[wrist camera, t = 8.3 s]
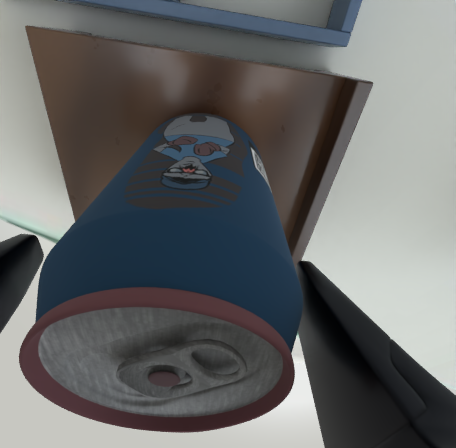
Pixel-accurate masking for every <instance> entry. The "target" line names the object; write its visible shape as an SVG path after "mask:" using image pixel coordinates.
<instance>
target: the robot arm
mask: <svg viewBox="0 0 456 448" xmlns="http://www.w3.org/2000/svg"><path fill="white" fill-rule="evenodd" d="M43 257H44V254H43V251H42V248H41V245H40V243H39V240H38V238H37V237H36V236H35V235H28V234H20V235H17V236H15V237H12V238H10V239H7V240H5V241H2V242H0V333H1V332H2V330H3V329H4V327H5V326H6V324H7V322H8V321H9V319H10V318H11V316H12V315H13V313H14V312H15V310H16V309H17V307H18V306H19V304H20V303H21V301H22V299H23V297H24V296H25V294H26V292H27V290H28V288H29V286H30V284H31V282H32V280H33V278H34V276H35V274H36V273H37V271H38V269H39V267H40V265H41V263H42V261H43ZM295 269H296V273H297V276H298V279H299V282H300V286H301V289H302V294H303V311H302V316H301V321H300V325H299V328H298V333H299V338H300V342H301V346H302V351H303V355H304V359H305V364H306V368H307V372H308V377H309V381H310V385H311V390H312V394H313V398H314V403H315V407H316V411H317V415H318V420H319V424H320V429H321V433H322V437H323V441H324V446H325V448H456V395H454V394H453V393H452V392H451V391H450V390H448V389H447V388H446V387H445V386H444V385H442V384H441V383H440V382H439V381H438V380H437V379H435V378H434V377H433V376H432V375H431V374H430V373H429V372H427V371H426V370H425V369H424V368H423V367H422V366H420V365H419V364H418V363H417V362H416V361H415V360H414V359H413V358H412V357H411V356H410V355H408V354H407V353H406V352H405V351H404V350H403V349H402V348H401V347H400V346H399V345H398V344H397V343H396V342H395V341H393V340H392V339H390V337H389V336H388V335H387V334H386V333H385V332H384V331H383V330H382V329H381V328H380V327H379V326H378V325H377V324H375V323H374V322H373V321H372V320H371V319H370V318H369V317H368V316H367V315H366V314H365V313H364V312H363V311H362V310H361V309H360V308H359V307H358V306H356V305H355V304H354V303H353V302H352V301H351V300H350V299H349V298H348V297H347V296H346V295H345V294H344V293H343V292H342V291H341V290H340V289H339V288H337V287H336V286H335V285H334V284H333V283H332V282H331V281H330V280H329V279H328V278H327V277H326V276H325V275H324V274H323V273H322V272H321V271H320V270H319V269H317V268H316V267H315V266H314V265H313V264H312V263H311V262H309V261H299V262H298V263H297V265H296V267H295Z"/></svg>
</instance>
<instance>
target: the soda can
mask: <svg viewBox="0 0 456 448" xmlns="http://www.w3.org/2000/svg"><path fill="white" fill-rule="evenodd" d="M302 311H303V294H302V289H301V286H300V282H299V279H298V276H297V273H296V269H295V266H294V263H293V260H292V256H291V253H290V250H289V247H288V243H287V240H286V237H285V234H284V230H283V227H282V224H281V221H280V217H279V214H278V211H277V208H276V204H275V201H274V198H273V195H272V191H271V188H270V185H269V182H268V178H267V175H266V172H265V168H264V165H263V162H262V159H261V156H260V153H259V151H258V149H257V147H256V145H255V143H254V142H253V141H252V139H251V138H250V137H249V136H248V134H247V133H246V132H245V131H243V130H242V129H241V128H240V127H239V126H237V125H236V124H234V123H233V122H231V121H229V120H227V119H225V118H222V117H220V116H216V115H212V114H207V113H189V114H184V115H180V116H177V117H174V118H172V119H169V120H168V121H166V122H164V123H163V124H161V125H160V126H159V127H157V128H156V129H155V130H154V131H153V132H152V133H151V135H150V136H149V137H148V138H147V139H146V140H145V142H144V143H143V144H142V145H141V146H140V147H139V149H138V150H137V151H136V152H135V153H134V154H133V156H132V157H131V158H130V159H129V160H128V161H127V163H126V164H125V165H124V166H123V167H122V168H121V169H120V171H119V172H118V173H117V174H116V175H115V176H114V178H113V179H112V180H111V181H110V182H109V183H108V185H107V186H106V187H105V188H104V189H103V190H102V192H101V193H100V194H99V195H98V196H97V197H96V199H95V200H94V201H93V202H92V203H91V204H90V205H89V207H88V208H87V209H86V210H85V211H84V212H83V214H82V215H81V216H80V217H79V218H78V219H77V221H76V222H75V223H74V224H73V225H72V226H71V228H70V229H69V230H68V231H67V232H66V233H65V234H64V236H63V237H62V238H61V239H60V240H59V241H58V243H57V244H56V245H55V246H54V247H53V249H52V250H51V251H50V253H49V254H48V256H47V258H46V259H45V262H44V264H43V266H42V270H41V273H40V279H39V285H38V297H37V309H36V323H35V324H34V325H33V327H32V328H31V329H30V331H29V332H28V334H27V335H26V337H25V339H24V341H23V343H22V345H21V348H20V354H19V363H20V367H21V370H22V372H23V374H24V376H25V378H26V379H27V380H28V382H29V383H30V384H31V386H32V387H33V388H34V389H35V390H36V391H38V392H39V393H40V394H41V395H43V396H44V397H45V398H47V399H48V400H50V401H51V402H53V403H55V404H56V405H58V406H60V407H62V408H64V409H66V410H68V411H71V412H73V413H75V414H78V415H81V416H83V417H86V418H89V419H92V420H96V421H99V422H103V423H107V424H111V425H115V426H120V427H126V428H132V429H139V430H149V431H160V432H202V431H209V430H215V429H220V428H225V427H229V426H233V425H237V424H240V423H244V422H247V421H250V420H252V419H255V418H257V417H260V416H262V415H263V414H265V413H267V412H269V411H271V410H272V409H274V408H275V407H277V406H278V405H279V404H280V403H281V402H282V401H283V400H284V399H285V398H286V397H287V395H288V394H289V392H290V391H291V389H292V386H293V383H294V377H295V376H294V375H295V370H294V363H293V359H292V355H291V352H292V349H293V346H294V342H295V339H296V335H297V332H298V328H299V325H300V321H301V316H302Z"/></svg>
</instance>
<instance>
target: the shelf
mask: <svg viewBox="0 0 456 448" xmlns="http://www.w3.org/2000/svg"><path fill="white" fill-rule="evenodd" d="M25 28H26V32H27V36H28V40H29V44H30V48H31V52H32V55H33V59H34V63H35V67H36V71H37V75H38V79H39V83H40V87H41V90H42V94H43V98H44V102H45V106H46V110H47V114H48V118H49V121H50V125H51V129H52V133H53V137H54V141H55V145H56V149H57V152H58V156H59V160H60V164H61V168H62V172H63V176H64V180H65V183H66V187H67V191H68V195H69V199H70V203H71V207H72V211H73V215H74V218H75V222H76V221H77V219H78V218H79V217H80V216H81V215H82V214H83V212H84V211H85V210H86V209H87V208H88V207H89V205H90V204H91V203H92V202H93V201H94V200H95V199H96V197H97V196H98V195H99V194H100V193H101V192H102V190H103V189H104V188H105V187H106V186H107V185H108V183H109V182H110V181H111V180H112V179H113V178H114V176H115V175H116V174H117V173H118V172H119V171H120V169H121V168H122V167H123V166H124V165H125V164H126V163H127V161H128V160H129V159H130V158H131V157H132V156H133V154H134V153H135V152H136V151H137V150H138V149H139V147H140V146H141V145H142V144H143V143H144V142H145V140H146V139H147V138H148V137H149V136H150V135H151V133H152V132H153V131H154V130H155V129H156V128H157V127H159V126H160V125H161V124H163V123H164V122H166V121H168V120H169V119H172V118H174V117H177V116H180V115H184V114H189V113H207V114H212V115H216V116H220V117H222V118H225V119H227V120H229V121H231V122H233V123H234V124H236V125H237V126H239V127H240V128H241V129H242V130H243V131H245V132H246V133H247V134H248V136H249V137H250V138H251V139H252V141H253V142H254V143H255V145H256V147H257V149H258V151H259V153H260V156H261V159H262V162H263V165H264V168H265V172H266V175H267V178H268V182H269V185H270V188H271V191H272V195H273V198H274V201H275V204H276V208H277V211H278V214H279V217H280V221H281V224H282V227H283V230H284V234H285V237H286V240H287V243H288V247H289V250H290V253H291V256H292V260H293V263H294V266H295V267H296V265H297V263H298V262H299V261H301V260H302V257H303V255H304V252H305V250H306V247H307V245H308V242H309V240H310V238H311V235H312V233H313V230H314V228H315V225H316V223H317V220H318V218H319V215H320V213H321V211H322V208H323V206H324V203H325V201H326V198H327V196H328V193H329V191H330V189H331V186H332V184H333V181H334V179H335V176H336V174H337V171H338V169H339V167H340V164H341V162H342V159H343V157H344V154H345V152H346V149H347V147H348V144H349V142H350V140H351V137H352V135H353V132H354V130H355V127H356V125H357V122H358V120H359V118H360V115H361V113H362V110H363V108H364V105H365V103H366V100H367V98H368V95H369V93H370V91H371V88H372V86H373V82H370V81H366V80H362V79H357V78H353V77H349V76H345V75H341V74H337V73H332V72H326V71H320V70H314V71H311V70H305V69H299V68H292V67H286V66H280V65H274V64H268V63H261V62H255V61H249V60H243V59H236V58H230V57H224V56H218V55H212V54H205V53H199V52H193V51H187V50H181V49H174V48H168V47H162V46H156V45H150V44H143V43H137V42H131V41H125V40H118V39H112V38H106V37H100V36H94V35H92V34H91V33H85V32H79V31H72V30H64V29H55V28H46V27H36V26H25Z"/></svg>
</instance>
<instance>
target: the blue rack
mask: <svg viewBox="0 0 456 448" xmlns="http://www.w3.org/2000/svg"><path fill="white" fill-rule="evenodd" d="M56 1H62V2H68V3H74V4H80V5H86V6H92V7H97V8H103V9H109V10H115V11H121V12H127V13H133V14H139V15H145V16H150V17H156V18H162V19H168V20H174V21H180V22H186V23H192V24H198V25H203V26H209V27H215V28H221V29H227V30H233V31H239V32H245V33H250V34H256V35H262V36H268V37H274V38H280V39H286V40H292V41H298V42H303V43H309V44H315V45H321V46H327V47H347V45H348V42H349V39H350V36H351V32H352V30H353V27H354V24H355V21H356V18H357V15H358V12H359V9H360V6H361V3H362V0H334V3H333V6H332V10H331V13H330V17H329V20H328V24H327V27H326V28H321V27H315V26H309V25H304V24H298V23H292V22H286V21H281V20H275V19H269V18H264V17H258V16H252V15H247V14H241V13H235V12H230V11H224V10H218V9H213V8H207V7H201V6H195V5H190V4H184V3H180V0H56Z"/></svg>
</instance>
